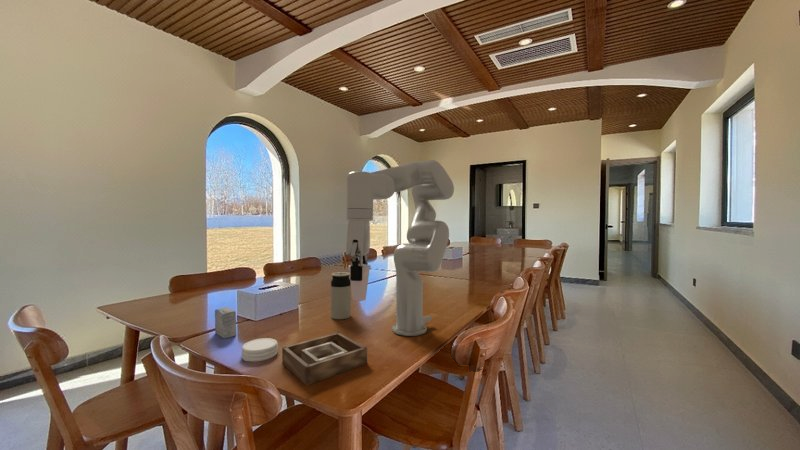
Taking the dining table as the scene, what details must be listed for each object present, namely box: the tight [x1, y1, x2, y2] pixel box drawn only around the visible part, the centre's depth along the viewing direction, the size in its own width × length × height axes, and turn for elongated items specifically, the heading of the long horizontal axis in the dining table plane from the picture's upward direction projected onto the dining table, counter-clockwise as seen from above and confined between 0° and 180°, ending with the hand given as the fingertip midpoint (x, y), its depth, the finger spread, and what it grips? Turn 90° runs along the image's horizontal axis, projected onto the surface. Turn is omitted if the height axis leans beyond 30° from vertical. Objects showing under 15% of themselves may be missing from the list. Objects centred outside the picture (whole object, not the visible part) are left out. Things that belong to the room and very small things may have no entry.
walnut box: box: [281, 331, 368, 386], centre depth 92 cm, size 18×16×4 cm
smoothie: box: [347, 256, 371, 302], centre depth 92 cm, size 6×6×14 cm
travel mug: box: [330, 271, 352, 320], centre depth 133 cm, size 8×8×18 cm
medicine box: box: [214, 306, 237, 339], centre depth 114 cm, size 8×4×9 cm, turn 47°
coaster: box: [241, 337, 279, 363], centre depth 97 cm, size 10×10×4 cm
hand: (359, 277), depth 92 cm, fingers closed on smoothie, 6 cm apart
